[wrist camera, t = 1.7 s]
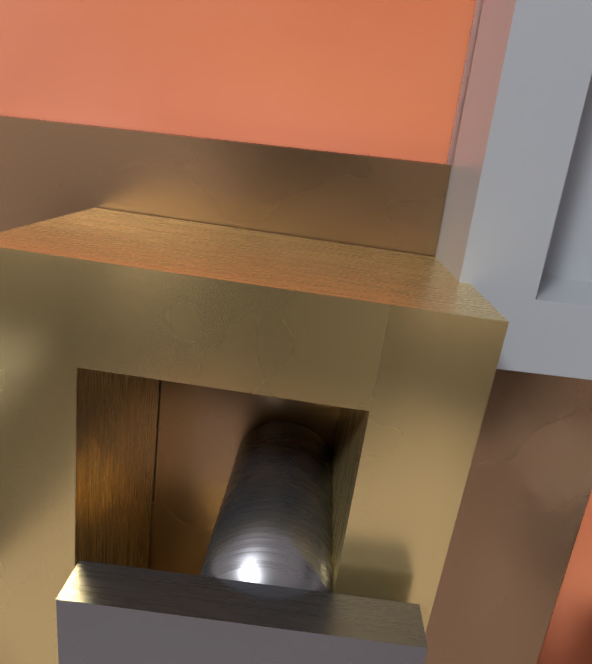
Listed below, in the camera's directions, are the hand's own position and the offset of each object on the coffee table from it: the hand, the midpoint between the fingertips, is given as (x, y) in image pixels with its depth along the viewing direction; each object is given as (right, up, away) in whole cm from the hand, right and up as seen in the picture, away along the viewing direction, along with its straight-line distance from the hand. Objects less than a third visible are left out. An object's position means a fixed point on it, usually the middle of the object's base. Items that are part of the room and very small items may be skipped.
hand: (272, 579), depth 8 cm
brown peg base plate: (0, +1, +3) cm, 3 cm away
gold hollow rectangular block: (-1, +1, +3) cm, 3 cm away
